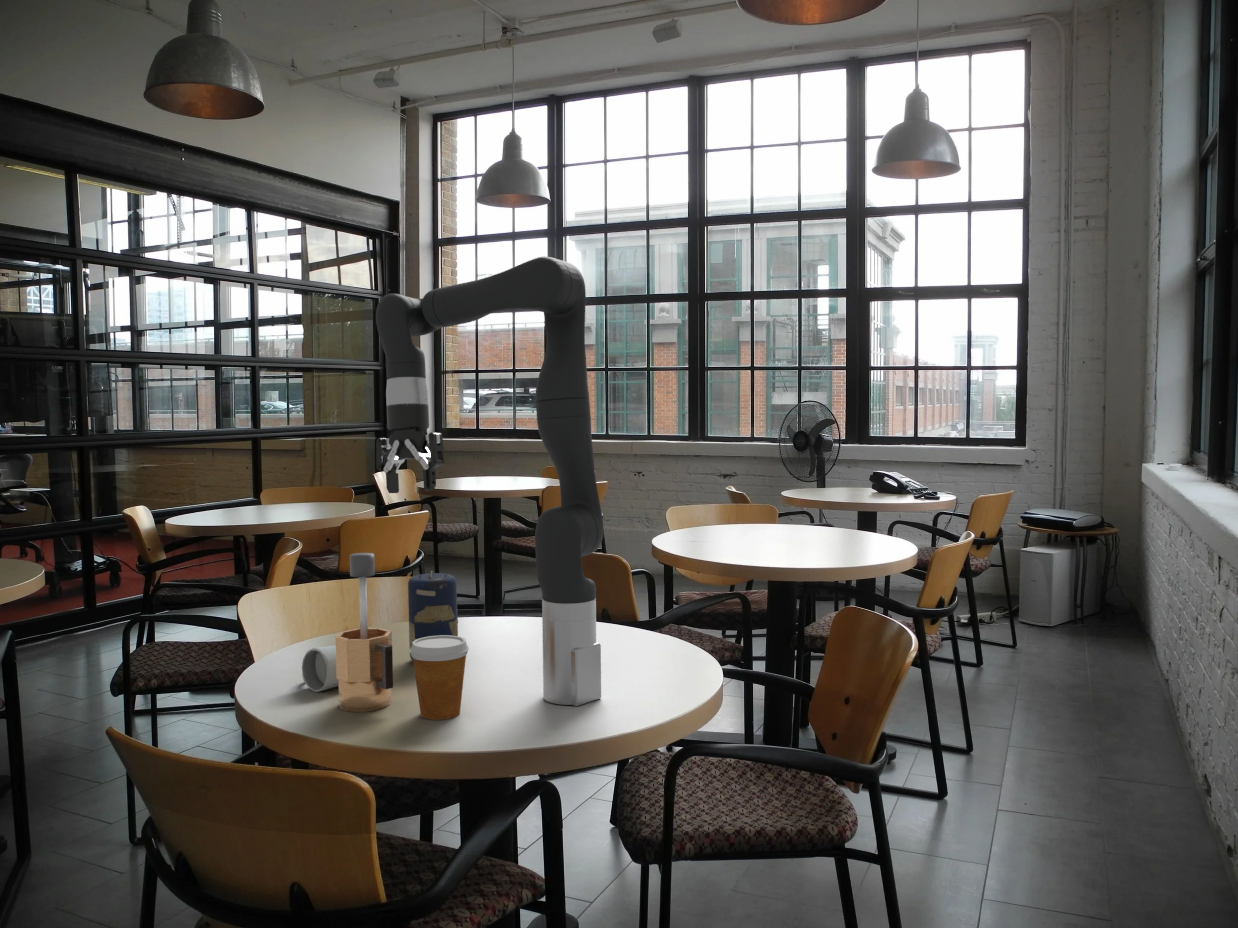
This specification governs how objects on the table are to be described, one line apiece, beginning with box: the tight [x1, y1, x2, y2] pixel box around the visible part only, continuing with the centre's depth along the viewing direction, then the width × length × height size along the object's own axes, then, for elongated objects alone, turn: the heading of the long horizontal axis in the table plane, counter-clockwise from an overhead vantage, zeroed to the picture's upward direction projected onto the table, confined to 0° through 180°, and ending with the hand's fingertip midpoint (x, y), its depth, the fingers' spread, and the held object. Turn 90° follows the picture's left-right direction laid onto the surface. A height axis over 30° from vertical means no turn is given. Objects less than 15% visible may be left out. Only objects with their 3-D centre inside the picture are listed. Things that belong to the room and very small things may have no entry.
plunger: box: [349, 552, 376, 639], centre depth 159 cm, size 4×4×15 cm
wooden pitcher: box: [335, 627, 394, 713], centre depth 158 cm, size 11×9×12 cm
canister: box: [407, 570, 459, 661], centre depth 187 cm, size 10×10×18 cm
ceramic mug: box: [301, 644, 339, 693], centre depth 171 cm, size 11×8×8 cm
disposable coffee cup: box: [409, 635, 470, 721], centre depth 154 cm, size 10×10×12 cm
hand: (411, 491), depth 173 cm, fingers open, 8 cm apart
